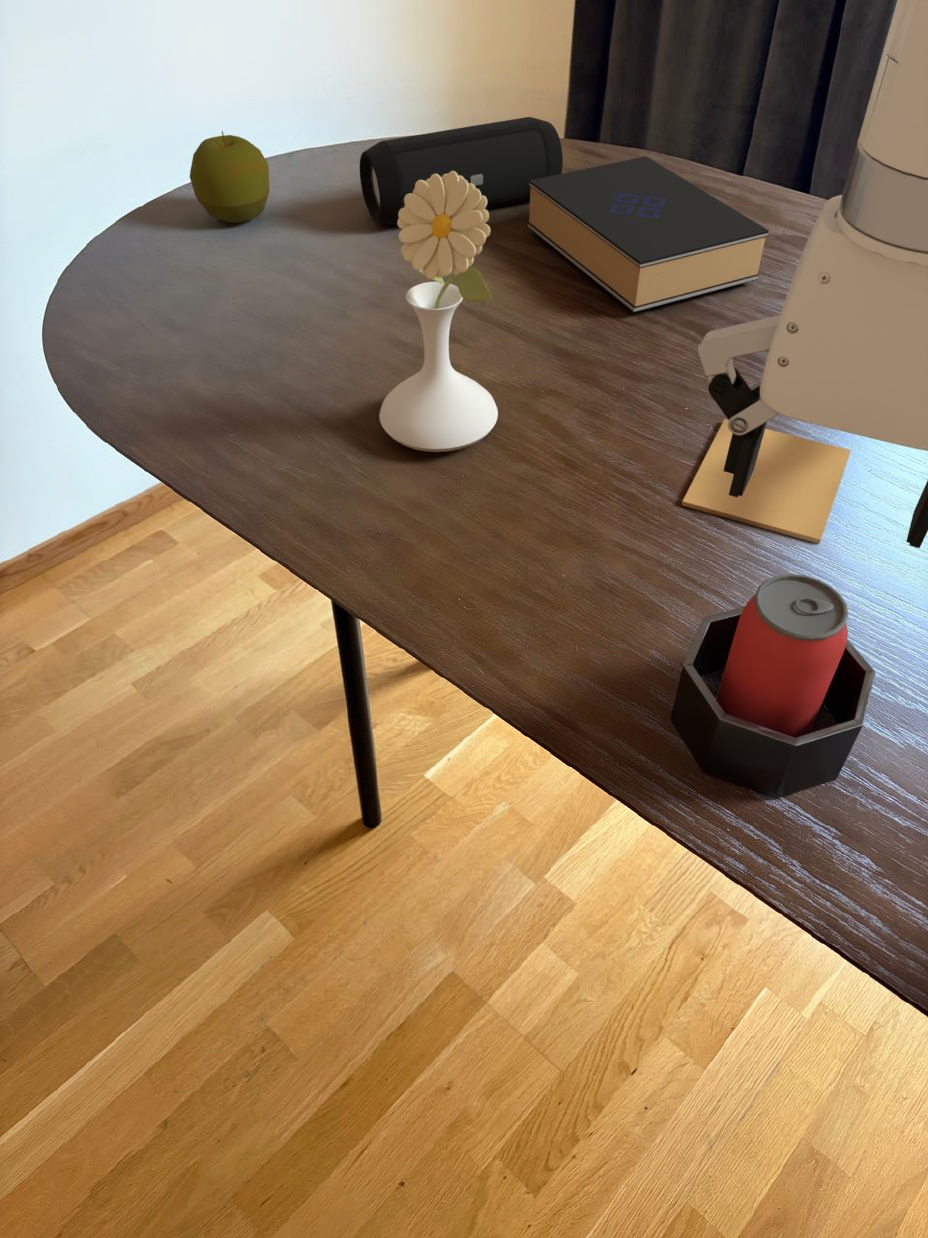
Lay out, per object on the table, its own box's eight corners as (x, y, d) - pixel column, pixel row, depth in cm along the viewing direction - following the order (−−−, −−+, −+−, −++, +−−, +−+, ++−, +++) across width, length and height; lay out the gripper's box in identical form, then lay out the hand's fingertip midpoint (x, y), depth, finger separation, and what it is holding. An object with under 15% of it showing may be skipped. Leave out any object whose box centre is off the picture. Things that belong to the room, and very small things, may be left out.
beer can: (817, 762, 64) (871, 643, 55) (720, 762, 64) (758, 643, 55) (795, 687, 68) (841, 567, 60) (704, 687, 68) (737, 567, 60)
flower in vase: (358, 422, 92) (329, 155, 74) (450, 382, 97) (445, 123, 79) (436, 487, 85) (425, 210, 67) (532, 441, 89) (546, 170, 71)
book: (639, 207, 126) (646, 155, 121) (757, 285, 110) (769, 230, 106) (526, 232, 121) (528, 179, 116) (633, 319, 105) (640, 262, 101)
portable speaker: (385, 241, 120) (379, 159, 112) (360, 211, 126) (353, 132, 119) (563, 206, 126) (568, 127, 119) (531, 180, 133) (534, 103, 126)
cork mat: (849, 454, 88) (851, 449, 87) (819, 544, 79) (820, 539, 79) (723, 422, 91) (724, 418, 91) (681, 505, 83) (682, 501, 82)
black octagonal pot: (858, 693, 68) (884, 637, 63) (826, 819, 61) (853, 765, 56) (701, 642, 71) (716, 586, 67) (654, 755, 64) (667, 700, 60)
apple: (188, 230, 123) (168, 141, 115) (217, 200, 129) (200, 114, 121) (260, 237, 121) (245, 147, 113) (286, 206, 127) (273, 119, 120)
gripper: (1162, 198, 40) (997, 511, 52) (756, 134, 45) (694, 432, 57) (1167, 274, 35) (984, 597, 47) (713, 192, 40) (656, 502, 53)
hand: (826, 506), depth 52 cm, fingers open, 9 cm apart
